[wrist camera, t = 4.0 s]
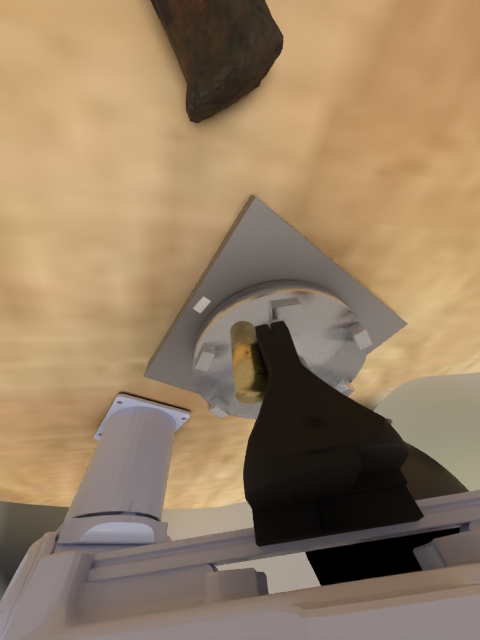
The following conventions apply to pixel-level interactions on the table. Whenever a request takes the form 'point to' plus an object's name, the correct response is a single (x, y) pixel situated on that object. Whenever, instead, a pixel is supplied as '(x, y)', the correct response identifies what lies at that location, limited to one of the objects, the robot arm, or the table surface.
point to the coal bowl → (391, 552)
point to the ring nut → (265, 308)
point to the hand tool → (220, 49)
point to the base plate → (256, 268)
